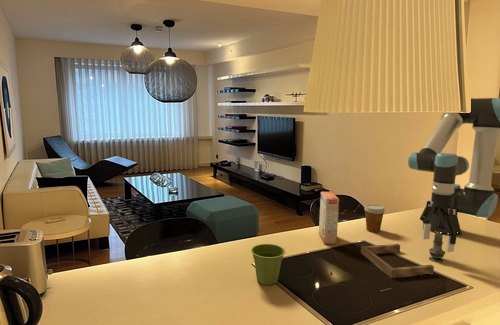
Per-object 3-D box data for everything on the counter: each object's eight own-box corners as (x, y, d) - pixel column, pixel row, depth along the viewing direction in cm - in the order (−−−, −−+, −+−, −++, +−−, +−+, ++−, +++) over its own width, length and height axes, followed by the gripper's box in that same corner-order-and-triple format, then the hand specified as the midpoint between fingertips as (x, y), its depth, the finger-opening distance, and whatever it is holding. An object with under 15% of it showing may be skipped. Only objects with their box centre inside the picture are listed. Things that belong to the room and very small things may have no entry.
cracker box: (337, 244, 159) (339, 198, 156) (323, 244, 159) (325, 198, 156) (331, 233, 173) (333, 191, 169) (318, 233, 173) (320, 191, 170)
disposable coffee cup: (380, 227, 182) (382, 204, 180) (385, 234, 173) (387, 209, 171) (361, 226, 183) (362, 203, 181) (365, 233, 174) (366, 209, 172)
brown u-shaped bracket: (397, 250, 153) (398, 243, 153) (433, 274, 132) (433, 266, 131) (360, 253, 150) (361, 246, 149) (391, 278, 128) (391, 270, 128)
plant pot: (254, 290, 119) (254, 258, 117) (247, 274, 130) (248, 244, 129) (288, 287, 121) (289, 255, 119) (279, 271, 133) (279, 242, 131)
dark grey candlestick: (446, 263, 141) (449, 234, 139) (430, 262, 142) (433, 233, 140) (441, 257, 147) (444, 229, 145) (426, 256, 148) (428, 228, 146)
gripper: (413, 186, 151) (409, 234, 155) (458, 201, 127) (452, 258, 130) (429, 185, 153) (424, 233, 156) (476, 200, 129) (470, 257, 132)
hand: (437, 245), depth 143 cm, fingers open, 13 cm apart
